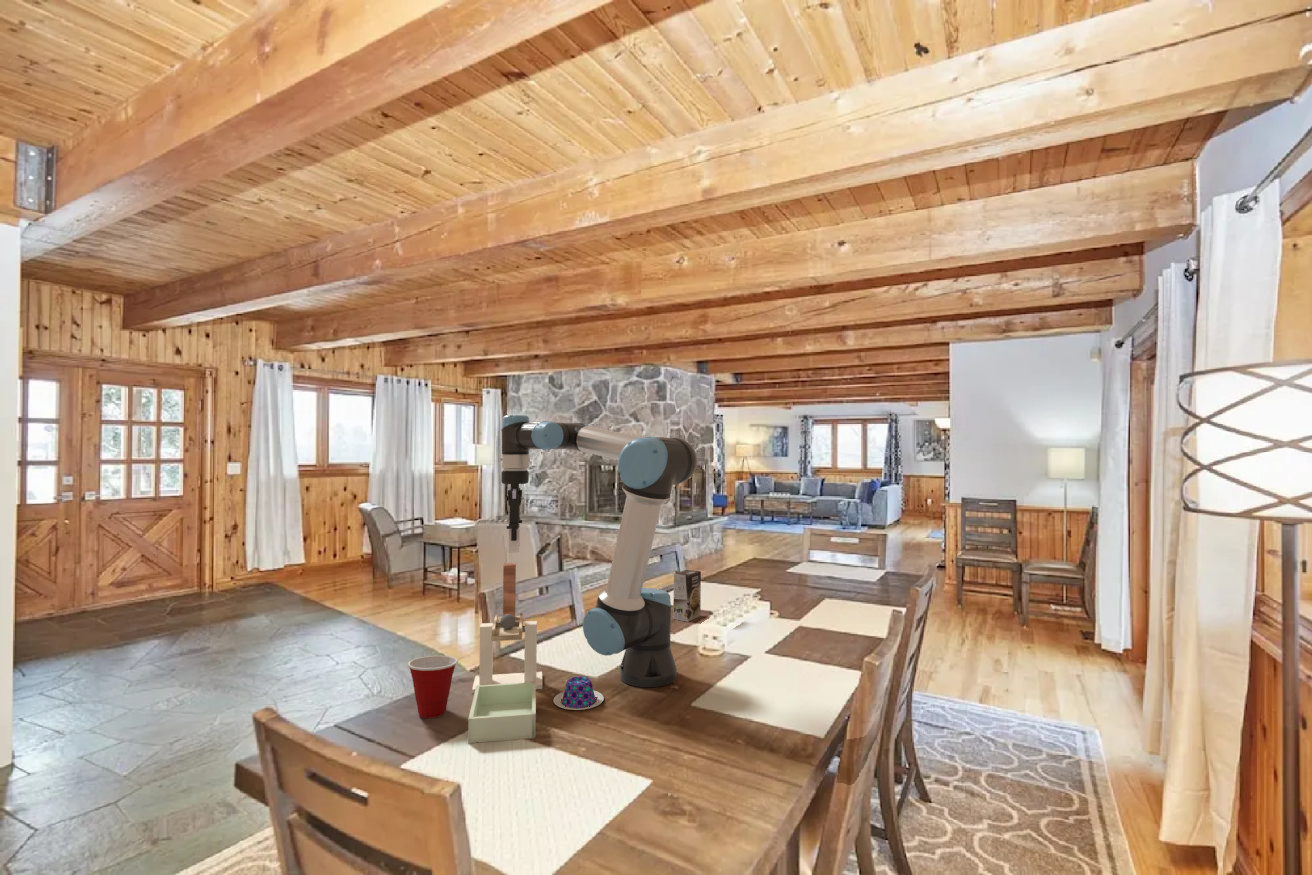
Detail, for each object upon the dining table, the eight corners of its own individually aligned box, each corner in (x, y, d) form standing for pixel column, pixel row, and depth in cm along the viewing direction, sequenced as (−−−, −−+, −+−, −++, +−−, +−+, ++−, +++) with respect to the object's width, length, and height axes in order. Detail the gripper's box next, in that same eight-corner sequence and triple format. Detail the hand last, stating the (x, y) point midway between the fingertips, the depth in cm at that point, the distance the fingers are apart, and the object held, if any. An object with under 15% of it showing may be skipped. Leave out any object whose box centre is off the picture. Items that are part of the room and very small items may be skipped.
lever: (495, 621, 161) (496, 563, 161) (523, 620, 163) (523, 562, 163) (491, 641, 146) (492, 576, 146) (521, 639, 147) (522, 575, 147)
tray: (476, 707, 145) (476, 685, 145) (535, 702, 147) (535, 681, 147) (468, 743, 128) (468, 718, 128) (535, 737, 130) (535, 713, 130)
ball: (518, 628, 152) (518, 613, 152) (507, 632, 149) (507, 617, 149) (508, 625, 154) (508, 611, 154) (496, 629, 151) (497, 614, 151)
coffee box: (688, 622, 214) (688, 575, 214) (672, 619, 217) (672, 573, 217) (701, 616, 221) (701, 570, 221) (685, 613, 225) (686, 568, 225)
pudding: (576, 717, 140) (576, 694, 140) (542, 702, 148) (543, 680, 148) (614, 701, 149) (614, 679, 149) (580, 687, 157) (580, 667, 157)
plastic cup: (465, 703, 147) (465, 652, 147) (445, 724, 136) (445, 669, 136) (421, 701, 148) (421, 650, 148) (397, 721, 137) (398, 667, 137)
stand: (475, 679, 161) (476, 619, 161) (542, 675, 165) (542, 616, 165) (472, 693, 153) (472, 630, 153) (542, 688, 156) (542, 626, 156)
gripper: (503, 467, 186) (502, 543, 186) (499, 471, 164) (498, 556, 164) (529, 467, 187) (528, 542, 187) (528, 471, 166) (527, 555, 166)
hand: (514, 549), depth 176 cm, fingers open, 9 cm apart
